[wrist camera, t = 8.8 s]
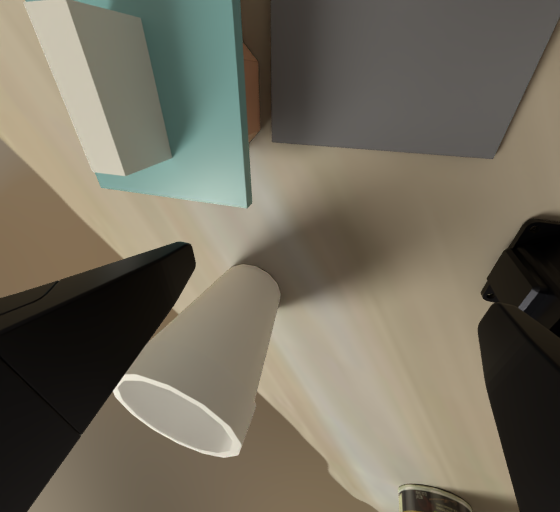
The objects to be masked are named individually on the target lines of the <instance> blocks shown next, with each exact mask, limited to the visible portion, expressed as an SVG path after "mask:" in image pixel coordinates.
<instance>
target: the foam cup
mask: <svg viewBox="0 0 560 512" xmlns="http://www.w3.org/2000/svg"><path fill="white" fill-rule="evenodd" d="M280 296H281V293H280V290H279V287H278V284H277V283H276V281H275V280H274V279H273V278H272V277H271V276H270V274H269V273H267V272H265V271H263V270H262V269H260V268H258V267H256V266H251V265H246V264H241V265H237V266H233V267H231V268H230V269H229V270H227V271H226V272H225V273H224V274H223V275H222V276H221V277H220V278H219V279H218V280H216V281H215V282H214V283H213V284H212V285H211V286H210V287H209V288H208V289H207V290H205V291H204V292H203V293H202V294H201V295H200V296H199V297H198V298H197V299H196V300H194V301H193V302H192V303H191V304H190V305H189V306H188V307H187V308H186V309H185V310H183V311H182V312H181V313H180V314H179V315H178V316H177V317H176V318H175V319H174V320H173V321H171V322H170V323H169V324H168V325H167V326H166V327H165V328H164V329H163V330H161V331H160V332H159V333H158V334H157V335H156V336H155V337H154V338H153V339H151V340H150V341H149V342H148V343H147V344H146V345H145V347H144V348H143V350H142V351H141V352H140V354H139V355H138V357H137V358H136V359H135V361H134V362H133V364H132V365H131V366H130V368H129V369H128V371H127V372H126V373H125V375H124V376H123V378H122V379H121V381H120V382H119V383H118V385H117V386H116V388H115V389H114V390H113V392H114V395H115V397H116V398H117V399H118V400H119V401H120V402H121V403H122V404H123V406H124V407H125V408H126V409H127V410H128V411H129V412H130V413H131V414H132V415H134V416H135V417H137V418H138V419H139V420H141V421H142V422H144V423H145V424H146V425H148V426H149V427H150V428H152V429H153V430H155V431H156V432H158V433H160V434H162V435H164V436H165V437H167V438H169V439H171V440H173V441H174V442H176V443H178V444H181V445H183V446H185V447H188V448H190V449H193V450H195V451H198V452H201V453H204V454H208V455H213V456H219V457H223V458H225V457H231V456H237V455H239V452H240V449H241V446H242V444H243V441H244V438H245V436H246V433H247V430H248V428H249V425H250V422H251V420H252V417H253V414H254V411H255V408H256V404H255V402H254V401H255V397H256V393H257V389H258V385H259V381H260V377H261V373H262V369H263V365H264V361H265V357H266V353H267V349H268V345H269V341H270V337H271V333H272V329H273V325H274V321H275V317H276V313H277V309H278V305H279V301H280Z"/></svg>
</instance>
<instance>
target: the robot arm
mask: <svg viewBox="0 0 560 512" xmlns="http://www.w3.org/2000/svg"><path fill="white" fill-rule="evenodd" d="M533 226H537V228H536V229H534V230H530V228H531V227H533ZM195 266H196V262H195V257H194V253H193V248H192V246H191V244H189V243H185V242H175V243H172V244H169V245H166V246H163V247H160V248H157V249H154V250H151V251H148V252H144V253H141V254H138V255H135V256H132V257H129V258H126V259H123V260H120V261H117V262H114V263H111V264H107V265H104V266H101V267H98V268H95V269H92V270H89V271H86V272H83V273H80V274H77V275H73V276H70V277H67V278H64V279H61V280H60V281H55V282H52V283H49V284H46V285H42V286H39V287H36V288H33V289H29V290H26V291H24V292H20V293H17V294H13V295H10V296H6V297H3V298H0V512H27V511H28V510H29V508H30V507H31V506H32V504H33V503H34V501H35V500H36V499H37V497H38V496H39V494H40V493H41V492H42V490H43V489H44V487H45V486H46V484H47V483H48V482H49V480H50V479H51V478H52V476H53V475H54V473H55V472H56V470H57V469H58V468H59V466H60V465H61V464H62V462H63V461H64V459H65V458H66V457H67V455H68V454H69V452H70V451H71V449H72V448H73V446H74V445H75V444H76V442H77V441H78V440H79V438H80V437H81V434H83V432H84V431H85V430H86V428H87V427H88V425H89V424H90V423H91V421H92V420H93V418H94V417H95V416H96V414H97V413H98V411H99V410H100V408H101V407H102V406H103V404H104V403H105V401H106V400H107V398H108V397H109V396H110V394H111V393H112V392H113V390H114V389H115V388H116V386H117V385H118V383H119V382H120V381H121V379H122V378H123V376H124V375H125V373H126V372H127V371H128V369H129V368H130V366H131V365H132V364H133V362H134V361H135V359H136V358H137V357H138V355H139V354H140V352H141V351H142V350H143V348H144V347H145V345H146V344H147V343H148V341H149V340H150V338H151V337H152V336H153V334H154V333H155V331H156V330H157V329H158V327H159V326H160V324H161V323H162V322H163V320H164V319H165V317H166V316H167V314H168V313H169V312H170V310H171V309H172V307H173V306H174V304H175V303H176V301H177V300H178V298H179V296H180V294H181V293H182V291H183V289H184V287H185V285H186V284H187V282H188V280H189V278H190V277H191V275H192V273H193V271H194V269H195ZM487 280H488V281H487V283H486V284H485V286H484V288H483V289H482V291H481V295H482V297H483V299H484V300H486V301H490V302H495V303H494V304H492V305H491V306H490V308H489V309H488V311H487V312H486V314H485V315H484V317H483V318H482V320H481V321H480V323H479V325H478V337H479V344H480V351H481V358H482V365H483V372H484V378H485V384H486V389H487V393H488V397H489V400H490V404H491V408H492V411H493V415H494V419H495V422H496V426H497V430H498V433H499V437H500V441H501V445H502V448H503V452H504V456H505V459H506V463H507V467H508V470H509V474H510V478H511V481H512V485H513V489H514V492H515V496H516V500H517V503H518V507H519V511H520V512H560V222H556V221H548V220H540V219H532V220H528V221H527V222H525V223H524V224H523V225H522V227H521V228H520V230H519V231H518V233H517V235H516V236H515V238H514V239H513V241H512V243H511V244H510V246H509V248H507V249H506V250H504V251H503V253H502V255H501V256H500V258H499V260H498V261H497V263H496V264H495V266H494V268H493V269H492V271H491V273H490V274H489V276H488V277H487ZM490 293H491V294H492V295H488V294H490Z"/></svg>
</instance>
